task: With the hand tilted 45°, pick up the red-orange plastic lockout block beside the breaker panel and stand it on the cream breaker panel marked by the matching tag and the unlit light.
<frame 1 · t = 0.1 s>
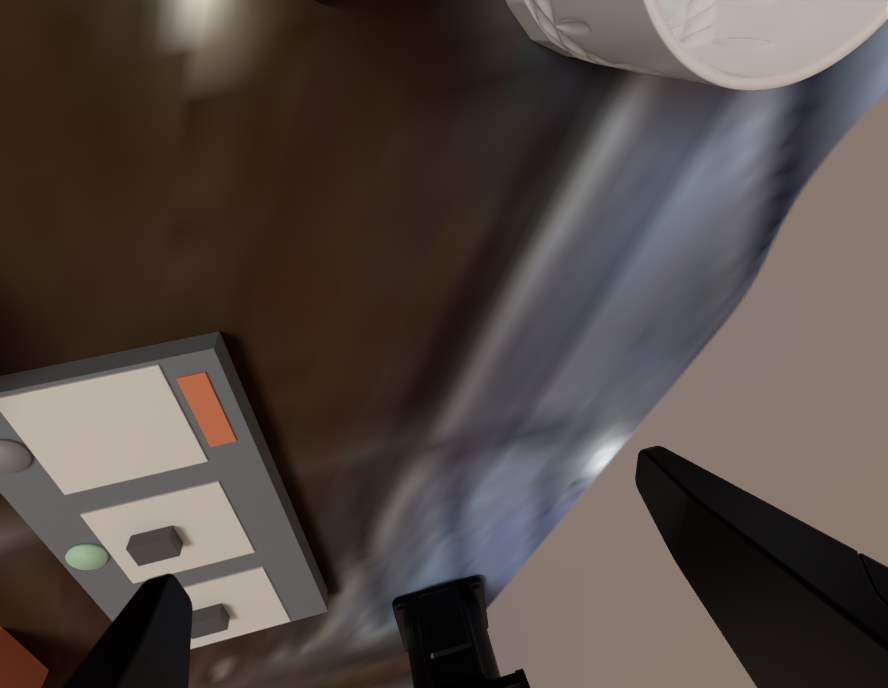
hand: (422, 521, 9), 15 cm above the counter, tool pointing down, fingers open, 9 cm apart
breaker panel: (181, 510, 27), on the counter
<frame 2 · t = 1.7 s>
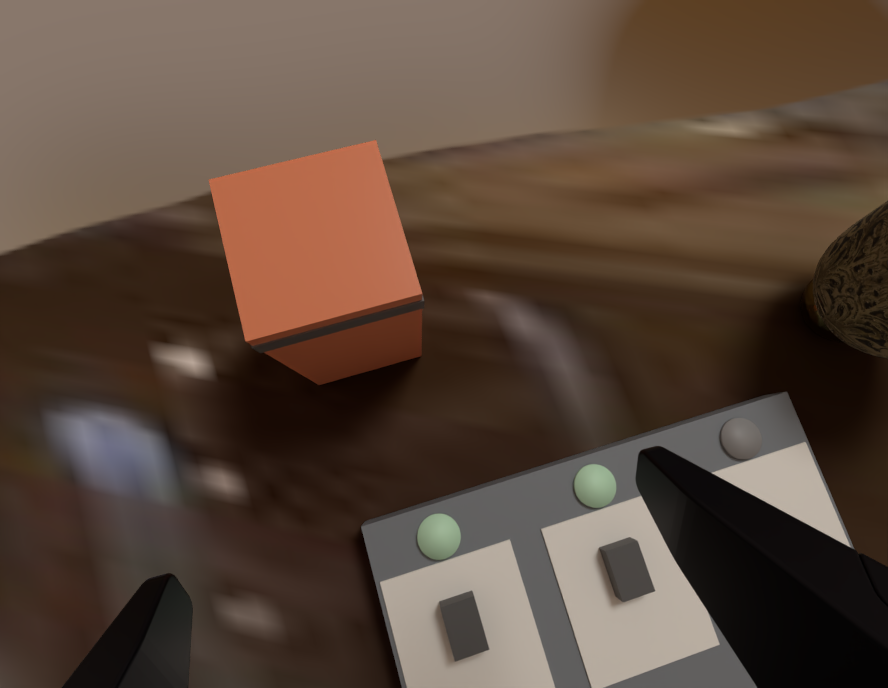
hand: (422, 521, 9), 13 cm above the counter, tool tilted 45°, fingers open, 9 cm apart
cup: (825, 311, 25), on the counter
lockout block: (357, 321, 24), on the counter
breaker panel: (614, 576, 22), on the counter
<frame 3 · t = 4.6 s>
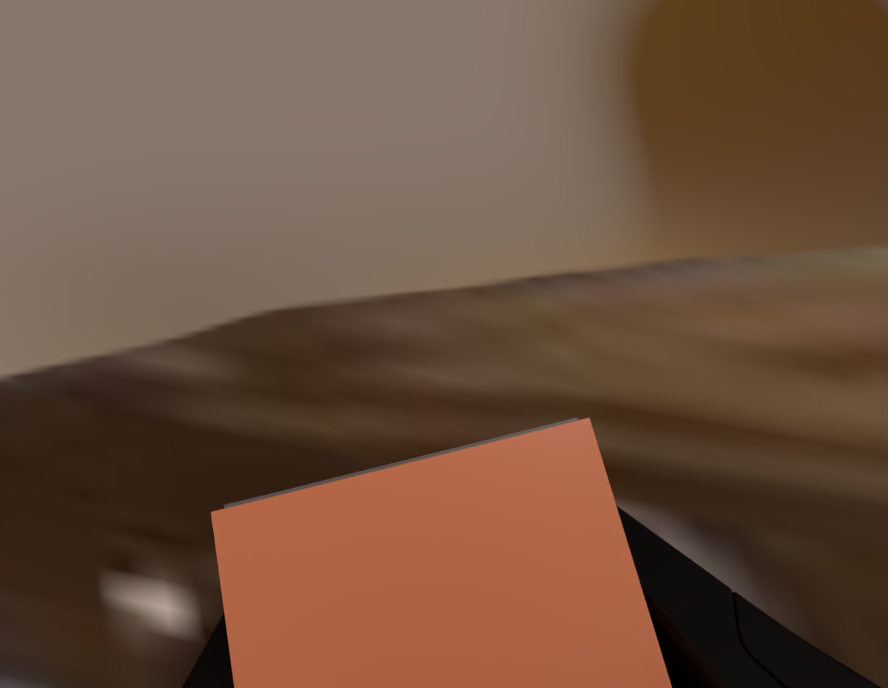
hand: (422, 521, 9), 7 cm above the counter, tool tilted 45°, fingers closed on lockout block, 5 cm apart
lockout block: (426, 544, 16), on the counter, touching gripper
when the fingers open (9 cm above the counter, at t = 9.2 s): lockout block drops 1 cm, resting on breaker panel.
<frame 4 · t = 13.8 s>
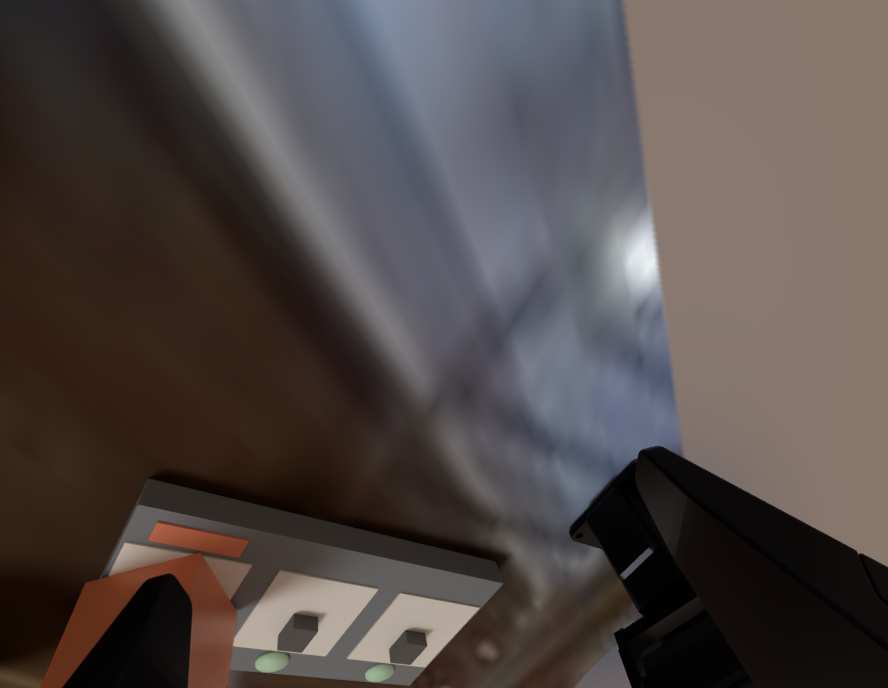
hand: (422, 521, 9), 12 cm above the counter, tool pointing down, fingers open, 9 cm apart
lockout block: (166, 598, 24), point 2 cm above the counter, touching breaker panel
breaker panel: (305, 590, 28), on the counter
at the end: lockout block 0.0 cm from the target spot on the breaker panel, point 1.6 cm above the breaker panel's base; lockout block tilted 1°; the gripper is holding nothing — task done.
